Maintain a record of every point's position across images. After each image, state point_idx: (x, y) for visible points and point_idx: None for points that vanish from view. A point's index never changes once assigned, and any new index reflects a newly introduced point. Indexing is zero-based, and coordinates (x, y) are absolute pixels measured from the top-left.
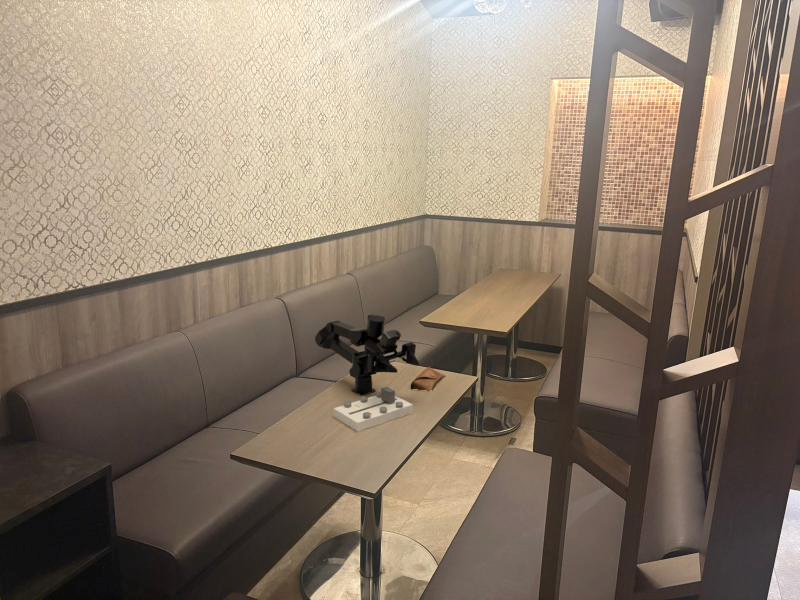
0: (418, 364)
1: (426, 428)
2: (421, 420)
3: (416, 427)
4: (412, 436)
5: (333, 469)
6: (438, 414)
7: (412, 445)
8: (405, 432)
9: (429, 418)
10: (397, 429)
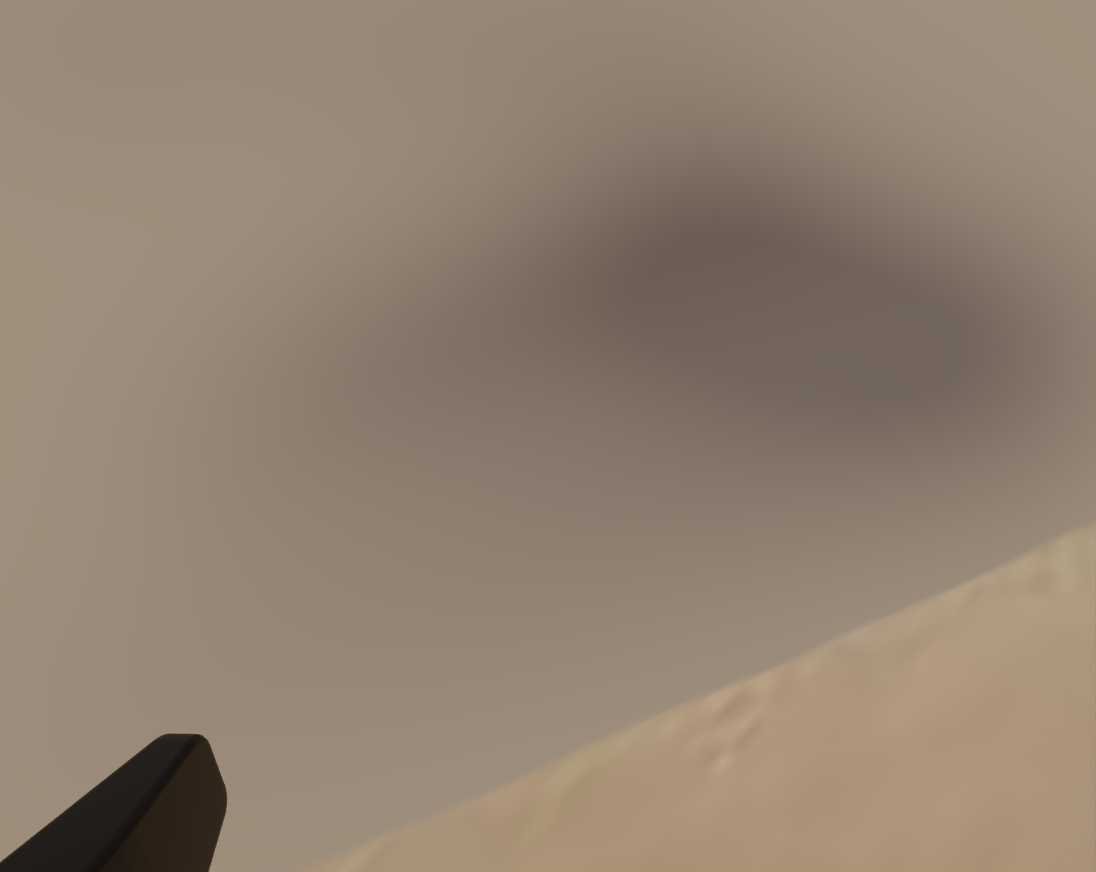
0: (201, 773)
1: (766, 683)
2: (688, 854)
3: (846, 759)
4: (988, 646)
5: None
6: (424, 842)
7: (1065, 539)
8: (1022, 746)
9: (578, 832)
10: (1089, 861)
